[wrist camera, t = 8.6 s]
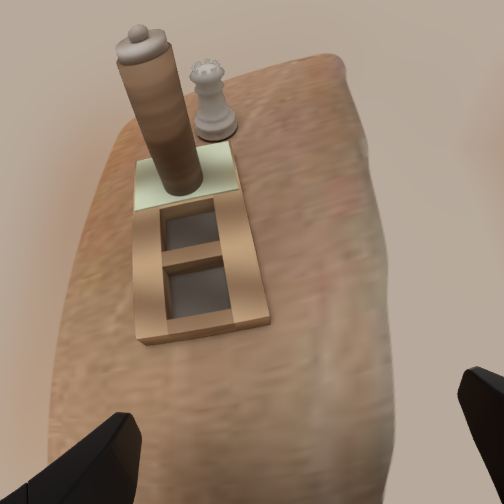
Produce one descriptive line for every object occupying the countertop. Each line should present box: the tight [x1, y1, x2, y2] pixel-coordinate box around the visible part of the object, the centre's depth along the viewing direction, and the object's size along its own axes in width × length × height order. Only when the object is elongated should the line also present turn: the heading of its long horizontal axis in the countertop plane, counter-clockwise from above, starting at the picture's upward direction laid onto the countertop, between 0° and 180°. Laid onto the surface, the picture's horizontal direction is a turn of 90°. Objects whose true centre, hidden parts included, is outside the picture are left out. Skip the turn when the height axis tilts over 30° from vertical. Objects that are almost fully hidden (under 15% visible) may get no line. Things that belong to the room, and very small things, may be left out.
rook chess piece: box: [189, 59, 237, 141], centre depth 28 cm, size 4×4×8 cm
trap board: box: [133, 141, 270, 346], centre depth 25 cm, size 16×9×2 cm, turn 11°
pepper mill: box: [115, 25, 203, 197], centre depth 20 cm, size 3×3×14 cm
